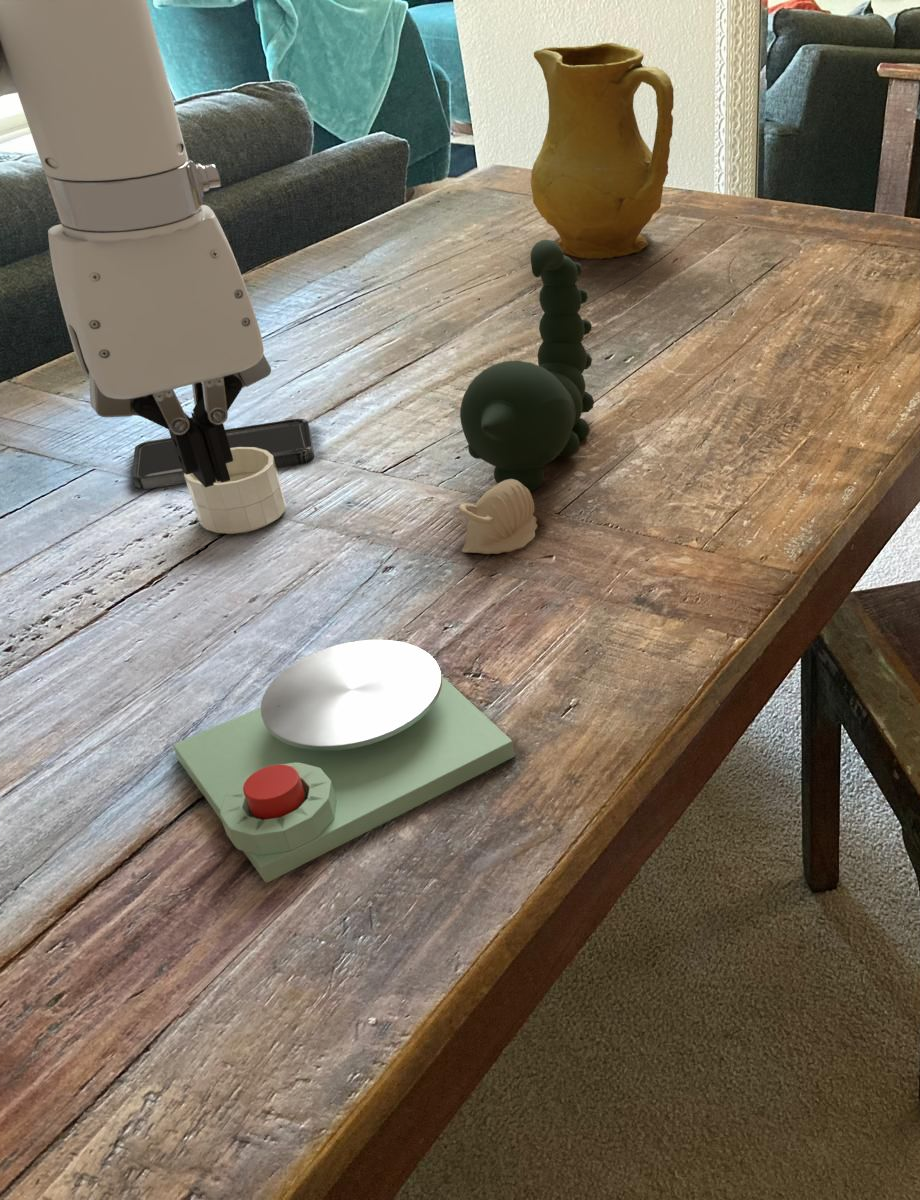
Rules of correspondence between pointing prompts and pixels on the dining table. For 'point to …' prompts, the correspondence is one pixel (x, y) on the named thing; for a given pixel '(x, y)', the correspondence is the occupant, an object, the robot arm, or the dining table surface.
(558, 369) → the toy figurine
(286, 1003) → the dining table surface
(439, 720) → the scale
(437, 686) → the scale pan
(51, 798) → the dining table surface
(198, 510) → the bowl
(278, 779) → the tare button
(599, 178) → the pitcher
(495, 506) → the decorative ornament
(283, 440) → the phone
